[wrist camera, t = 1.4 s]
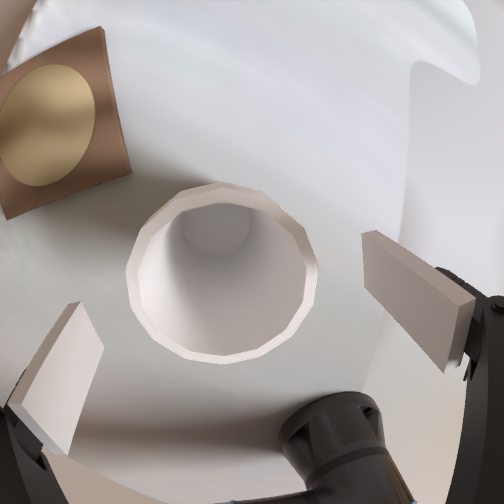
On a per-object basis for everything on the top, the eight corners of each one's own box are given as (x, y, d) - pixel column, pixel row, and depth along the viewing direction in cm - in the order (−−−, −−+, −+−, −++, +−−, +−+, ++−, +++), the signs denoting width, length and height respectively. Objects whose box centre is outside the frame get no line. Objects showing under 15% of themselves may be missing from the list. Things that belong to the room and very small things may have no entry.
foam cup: (154, 259, 27) (120, 346, 15) (173, 157, 24) (140, 170, 12) (254, 278, 29) (286, 371, 17) (282, 182, 26) (343, 218, 14)
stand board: (132, 172, 24) (127, 174, 23) (12, 217, 24) (4, 221, 22) (104, 29, 19) (99, 24, 18) (-12, 91, 19) (-20, 90, 17)
